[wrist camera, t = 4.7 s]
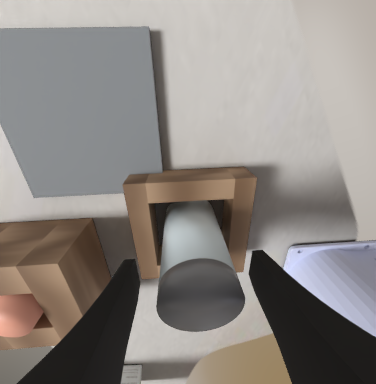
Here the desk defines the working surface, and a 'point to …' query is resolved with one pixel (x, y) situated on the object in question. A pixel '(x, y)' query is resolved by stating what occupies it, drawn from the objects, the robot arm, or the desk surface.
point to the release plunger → (18, 314)
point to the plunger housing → (52, 274)
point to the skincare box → (131, 374)
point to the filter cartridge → (196, 271)
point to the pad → (79, 107)
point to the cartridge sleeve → (189, 191)
